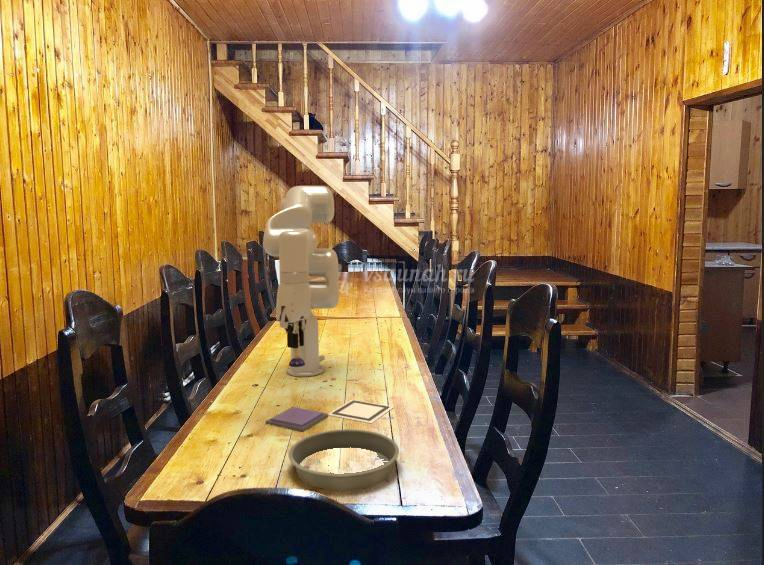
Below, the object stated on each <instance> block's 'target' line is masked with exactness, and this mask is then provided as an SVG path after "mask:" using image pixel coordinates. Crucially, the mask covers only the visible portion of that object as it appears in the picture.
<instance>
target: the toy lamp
mask: <svg viewBox="0 0 764 565" xmlns="http://www.w3.org/2000/svg"><path fill="white" fill-rule="evenodd" d="M303 318H304V316H301V318H300V319H303ZM298 323H299V321H297V322H296V325H297V333H298V346H300V343H299V330H298V329H299V325H298ZM293 351H294V358H293V359H291V358H290V361H289V363H288V367H290V366H291V367H301V366H304V365H305V362H304V360H303V359H301V358H300V353H299V352H300V348H299V347H298V348H293Z"/></svg>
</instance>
